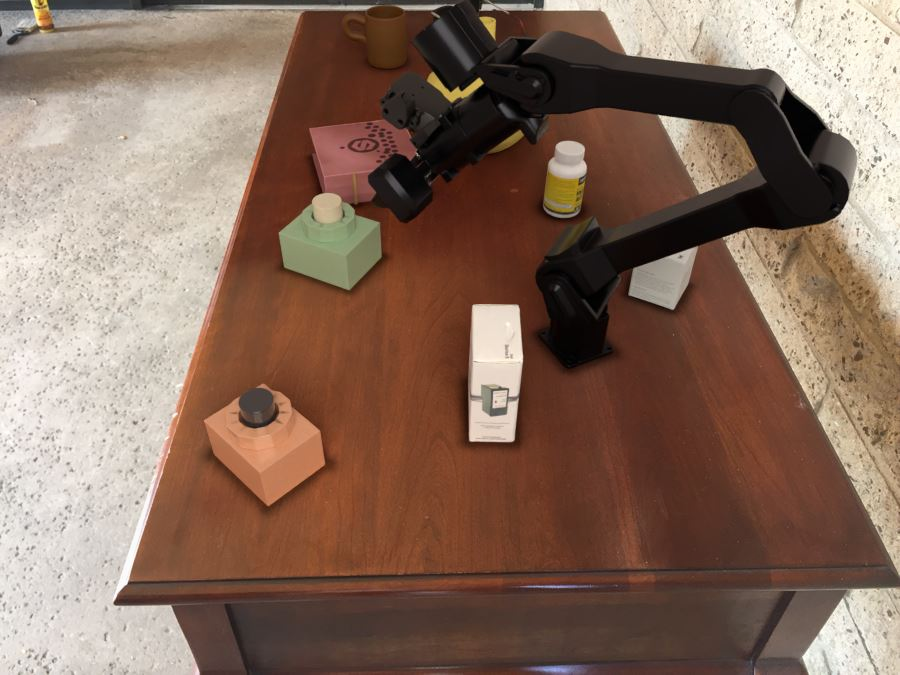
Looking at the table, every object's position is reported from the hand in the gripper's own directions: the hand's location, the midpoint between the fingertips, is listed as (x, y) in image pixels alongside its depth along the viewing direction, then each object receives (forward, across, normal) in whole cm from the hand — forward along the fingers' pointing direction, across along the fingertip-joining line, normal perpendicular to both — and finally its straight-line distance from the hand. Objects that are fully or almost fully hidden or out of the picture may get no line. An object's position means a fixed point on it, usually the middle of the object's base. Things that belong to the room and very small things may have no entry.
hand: (389, 190), depth 90 cm
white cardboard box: (-12, -14, +31) cm, 36 cm away
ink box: (-5, +14, +24) cm, 28 cm away
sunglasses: (+27, -77, -7) cm, 82 cm away
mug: (+36, -56, -16) cm, 69 cm away
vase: (+14, -39, +5) cm, 42 cm away
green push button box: (+16, 0, +3) cm, 16 cm away
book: (+21, -20, -2) cm, 29 cm away
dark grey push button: (+3, +30, +7) cm, 31 cm away
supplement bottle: (+1, -26, +19) cm, 32 cm away
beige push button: (+11, 0, -2) cm, 11 cm away
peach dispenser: (+7, +30, +12) cm, 33 cm away
